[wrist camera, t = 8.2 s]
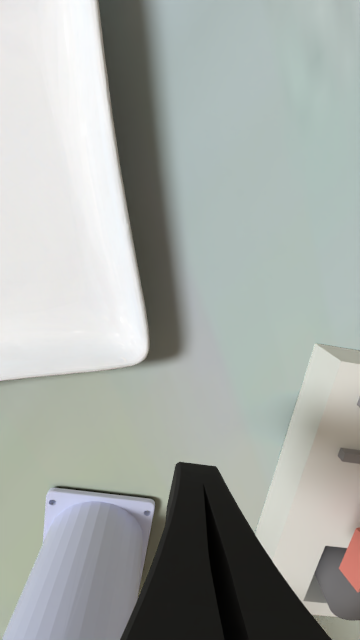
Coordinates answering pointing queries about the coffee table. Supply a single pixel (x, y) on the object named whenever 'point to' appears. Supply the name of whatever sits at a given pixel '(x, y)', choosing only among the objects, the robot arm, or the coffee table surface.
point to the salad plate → (62, 200)
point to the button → (337, 585)
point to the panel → (316, 475)
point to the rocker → (352, 561)
